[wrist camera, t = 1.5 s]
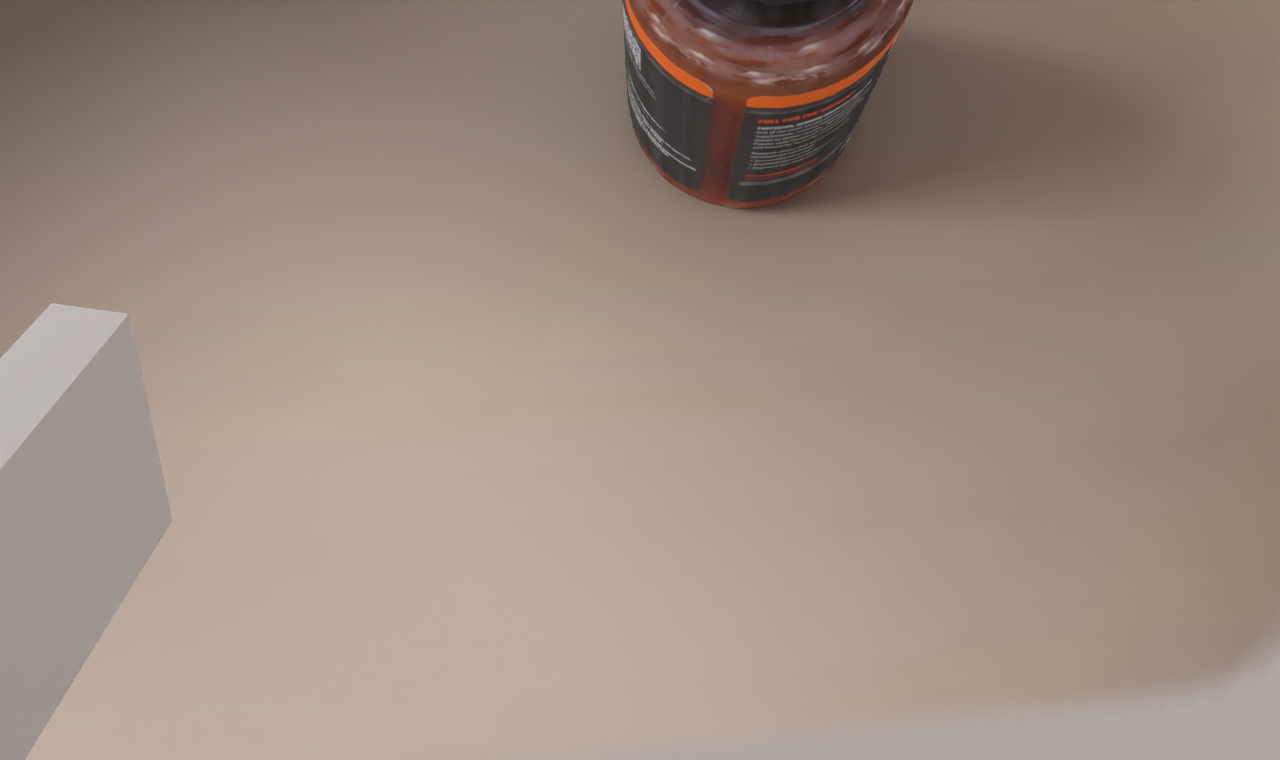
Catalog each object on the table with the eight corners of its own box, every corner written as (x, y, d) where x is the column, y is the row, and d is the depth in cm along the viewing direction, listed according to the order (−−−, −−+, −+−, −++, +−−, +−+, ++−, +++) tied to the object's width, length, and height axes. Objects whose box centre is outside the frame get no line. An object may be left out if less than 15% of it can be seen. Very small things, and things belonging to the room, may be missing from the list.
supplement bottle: (899, 95, 31) (1040, -152, 20) (751, 260, 31) (813, 102, 19) (727, -46, 32) (772, -363, 21) (580, 114, 31) (544, -122, 20)
